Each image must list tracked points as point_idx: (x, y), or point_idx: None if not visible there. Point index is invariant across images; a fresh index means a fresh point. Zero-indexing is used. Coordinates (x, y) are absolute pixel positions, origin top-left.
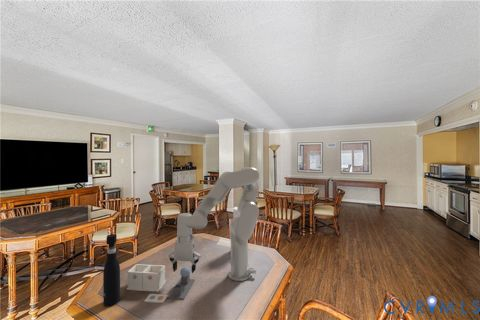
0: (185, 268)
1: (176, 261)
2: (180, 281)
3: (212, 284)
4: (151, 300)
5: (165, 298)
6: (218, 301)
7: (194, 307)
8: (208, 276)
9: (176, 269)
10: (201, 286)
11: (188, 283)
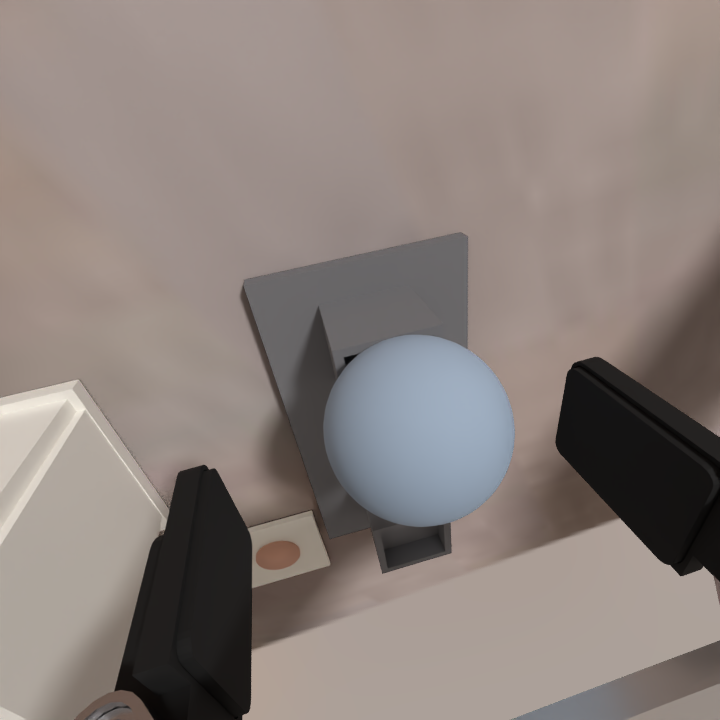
0: (467, 511)
1: (170, 674)
2: (295, 340)
3: (685, 240)
4: None
5: (319, 541)
6: (707, 417)
7: (554, 506)
8: (642, 51)
9: (225, 487)
10: (567, 312)
11: None
